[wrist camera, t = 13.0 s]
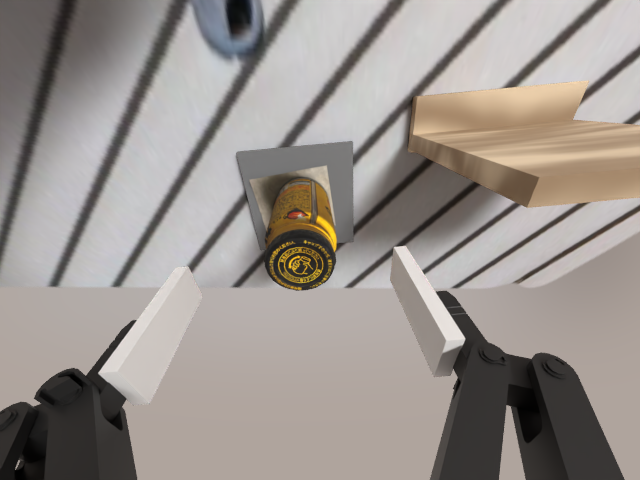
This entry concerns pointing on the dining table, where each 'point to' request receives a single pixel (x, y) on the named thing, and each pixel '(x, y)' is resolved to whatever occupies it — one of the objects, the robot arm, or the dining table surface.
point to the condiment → (298, 227)
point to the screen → (528, 144)
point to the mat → (298, 159)
